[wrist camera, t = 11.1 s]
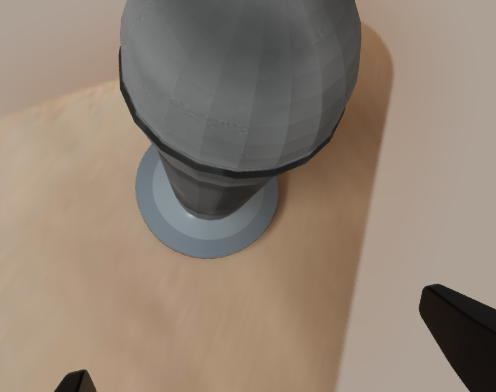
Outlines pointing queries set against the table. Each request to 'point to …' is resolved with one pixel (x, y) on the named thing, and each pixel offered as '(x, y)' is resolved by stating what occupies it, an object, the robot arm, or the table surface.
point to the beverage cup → (236, 89)
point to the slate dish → (194, 229)
